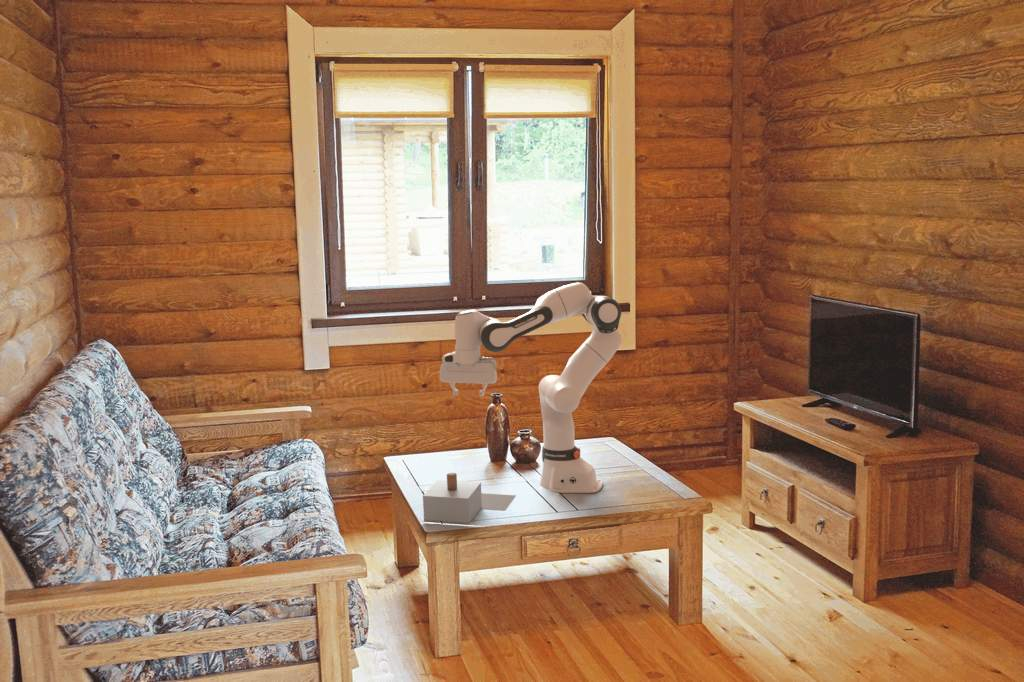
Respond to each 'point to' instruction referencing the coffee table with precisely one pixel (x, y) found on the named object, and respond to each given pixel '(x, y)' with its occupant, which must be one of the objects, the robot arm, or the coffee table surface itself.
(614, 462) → the coffee table surface
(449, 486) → the cover
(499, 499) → the mat
